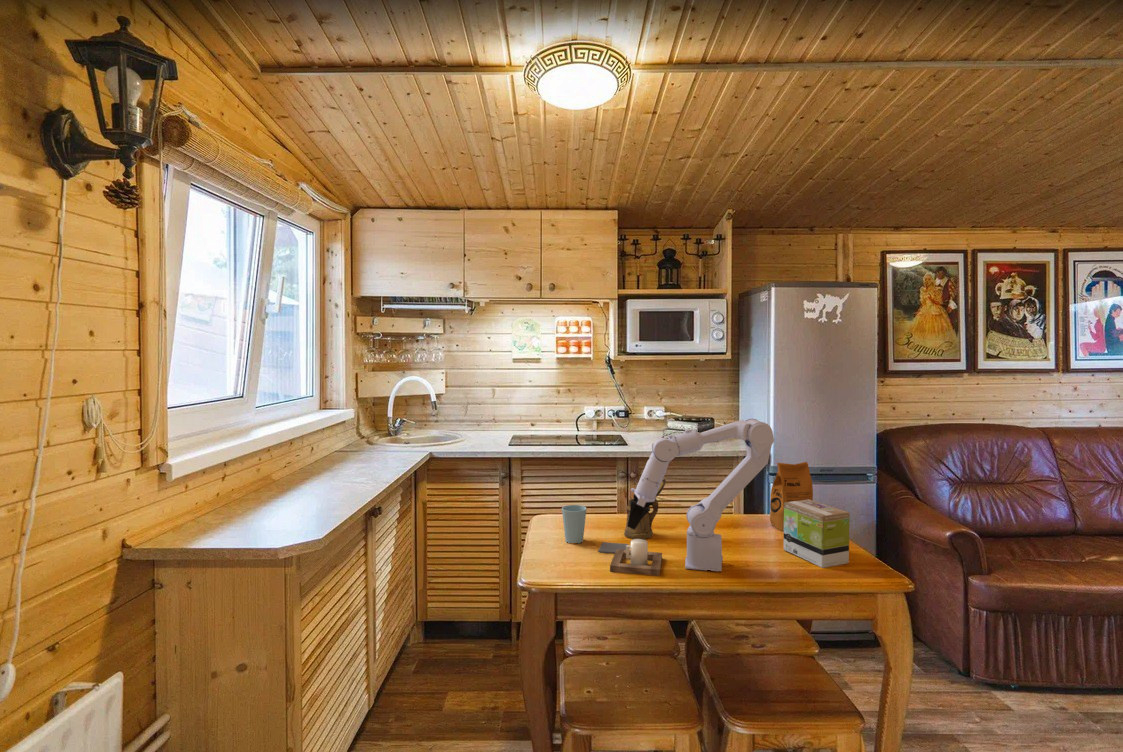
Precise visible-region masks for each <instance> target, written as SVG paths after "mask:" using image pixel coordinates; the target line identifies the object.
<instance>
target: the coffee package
mask: <svg viewBox="0 0 1123 752" xmlns="http://www.w3.org/2000/svg"><path fill="white" fill-rule="evenodd" d="M776 464H777V465H776V466H777V469H778V470H777V472H776V474H775V478H774V480H773V483H772V486H771V490H770V500H769V501H770V503H769V506H770V507H769V508H770V512H769V521H770V524H771V526H774V528H776V529H777V530H778V531H781V532H784V502H785V503H786V502H793V501H800V500H807V499H810V500H813V501H814V492H813V491H814V489H813V480H812V476H811V473H810V472H811V471H810V466H809V463H808V461H804V462H803V461H802V462H800V463H795V464H793V463H785V462H777V463H776Z"/></svg>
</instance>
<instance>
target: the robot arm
mask: <svg viewBox="0 0 1123 752" xmlns="http://www.w3.org/2000/svg"><path fill="white" fill-rule="evenodd" d="M732 438H734V439H736V440H741V441H744V443H745V449H746V456H745V457H744V458H743V459H742V461H740V462H739V464H737V465H736V467H735V468H734V469H733V470H732V471H731V472H730V473H729V474H728V475H727V476H726V477H725V478H724V479H723V480H722V482H721V483H720V484H719V485H718V486H717V487H716V488H715V489H714V490H713V491H712V493H711V494H709V496H707V497H705V498H703V499H701V500H700V501H699V502H698V503H696V504H694V505H692V506H690V507H689V508H688V510H687V512H686V520H687V522H688V524H689V526H688V528H687V529H686V556H685V557H684V558H685V561H684V562H685V564H684V569H686V570H696V571H707V570H711V571H710V572H719V571H721V572H723V571H722V566H723V565H722V563H723V561H724V560H723V558H724V556H723V550H722V549H723V548H722V547H723V545H722V543H723V541H722V539H723V537H722V534H719V533H715V528H716V526H717V523H718V522H719V521H720V520H721V517H722V514H723V511H724V510H725V509H726V508H727V507H728V506H729V505H730V504H731V503H732V501H733V500H734V499H736V497H737V496H738V495H739V494H740V493H741V492H742V491H743V490H744V489H745V488H746V487H747V486H748V485H749V484H750V483H751V481H753V479H754V478H755V477H756V476H757V475H758V474H759V473H760V472H761V471H762V470H763V469H764V467H765V466H767V464H768V463H769V460H770V455H771V451H772V446H773V444H774V442H775V436H774V433H773V429H772V427H771V425H769V424H768V423H766V422H764V421H760V420H758V419H757V418H747V419H744V420H737V421H736V420H735V421H733V422H730V423H727V424H723V425H721V426H717V427H714V428H712V429H708V430H706V431H705V430H704V431H702V432H698V431H697V430H695V429H692V430H691V429H689V428H688V429H685V430H684V432H681V433H678V434H674V435H672V434H669V435H667V438H666V437H659V438H657V439H656V440H655V441H654V442H653V443H652V445H651V451H652V452H651V454H650V455H649V458H648V460H647V461H646V464H645V466H644V467H643V468H644V469H643V471H642V474H641V476H640V477H639V480H638V483H637V484H636V485H637V486H636V488H634V487H632V488H631V489H630V492H632V493H634V494H633V498H630V499H631V501H630V516H629V520H628V525H627V526H628V527H630V528H632V529H635V528H636V527H637V525H638V524H639V522H640V521H641V519H642V518H643V517H644V516H645V515H646V514H647V513H648V512H649V513H650V511H651V508H650V509H649V508H648V507H651V506H652V505H651V504H652V503H653V502H654V501H655V497H656V494H657V492H658V490H659V487H660V485H661V482H662V480H663V479H665V475H666V472H667V470H668V467H669V464H670V462H671V461H672V460H674V459H675V458H676V457H681V456H685V455H688V454H691V453H694V452H698V451H701V449H702V448H703V446H704V445H706V444H712V443H715V442H716V443H717V442H719V441H723V440H728V439H732ZM656 498H657V497H656ZM632 499H634V500H632Z"/></svg>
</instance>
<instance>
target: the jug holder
mask: <svg viewBox="0 0 1123 752" xmlns="http://www.w3.org/2000/svg"><path fill="white" fill-rule="evenodd" d="M629 555H631V549H629ZM624 559H626V550H620V549H616V552H615V554H613V557H612V560H611V562H610V565H609V572H610V573H611V572H612V573H622V574H623V573H625V574H634V575H635V574H636V575H645V576H655V577H656V576H657V577H659V576H660V573H661V568H662V560H663V552H657V551H648V554H647V561H652V563H651V565H647V566H645V565H634V564H631V563H630V564H629V563H622V562H623V560H624Z"/></svg>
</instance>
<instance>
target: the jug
mask: <svg viewBox="0 0 1123 752" xmlns="http://www.w3.org/2000/svg"><path fill="white" fill-rule="evenodd" d="M629 550H631V555H629ZM648 550H649V549H648V540H646V539H631V540H630V544H629V545H626V558H625V559H627V560H630V564H634V565H645V566H648V560H647V554H648V552H649V551H648Z"/></svg>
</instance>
